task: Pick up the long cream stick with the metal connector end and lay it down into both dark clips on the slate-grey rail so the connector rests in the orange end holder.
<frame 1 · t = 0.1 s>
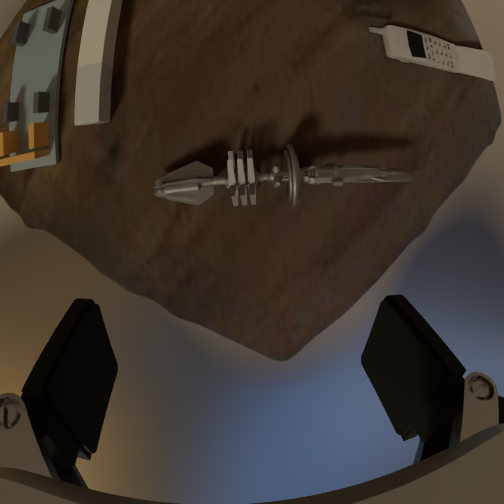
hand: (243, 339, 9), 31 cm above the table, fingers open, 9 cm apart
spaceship: (285, 170, 38), on the table
mobile phone: (429, 54, 31), on the table
long cream stick: (103, 50, 27), on the table
clip rail: (36, 80, 26), on the table
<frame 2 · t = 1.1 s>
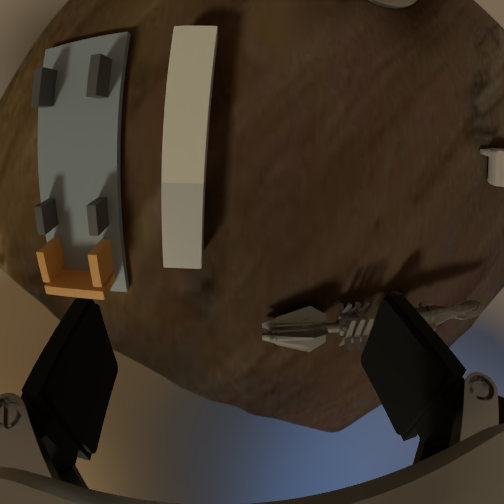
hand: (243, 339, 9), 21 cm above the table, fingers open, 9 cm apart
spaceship: (382, 303, 36), on the table
long cream stick: (189, 144, 25), on the table
clip rail: (78, 167, 24), on the table
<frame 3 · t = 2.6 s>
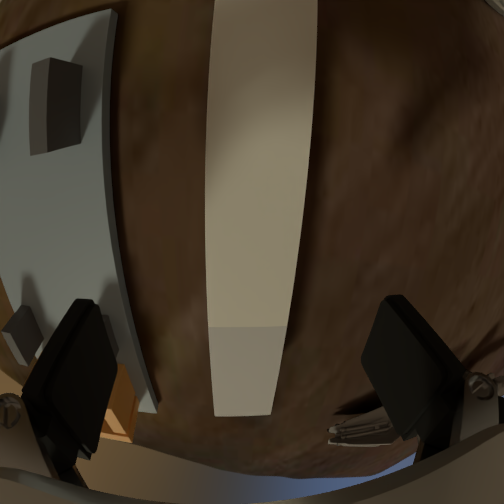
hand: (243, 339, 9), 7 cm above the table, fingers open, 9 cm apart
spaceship: (451, 378, 26), on the table
long cream stick: (245, 231, 15), on the table
clip rail: (53, 262, 15), on the table
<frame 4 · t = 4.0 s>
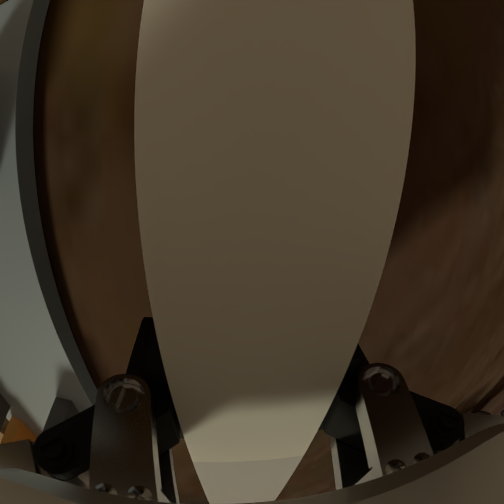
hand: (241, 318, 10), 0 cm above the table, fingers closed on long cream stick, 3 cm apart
long cream stick: (242, 317, 9), on the table, touching gripper
clip rail: (2, 332, 9), on the table
when the fingers open (2 cm above the table, at t = 9.1 s): long cream stick stays where it is, resting on clip rail.
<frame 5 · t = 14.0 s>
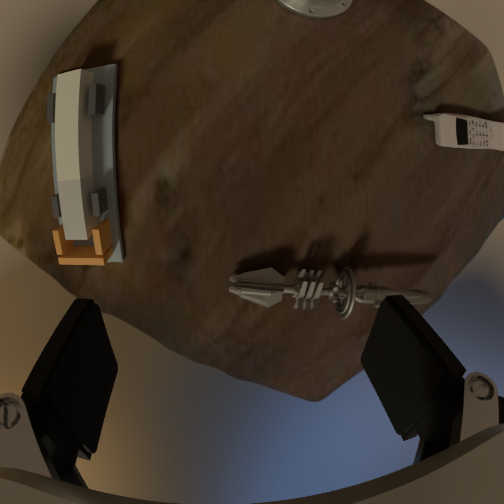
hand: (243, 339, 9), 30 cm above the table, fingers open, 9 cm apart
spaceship: (336, 279, 45), on the table
mobile phone: (468, 131, 36), on the table
long cream stick: (80, 152, 31), point 1 cm above the table, touching clip rail
clip rail: (84, 167, 33), on the table
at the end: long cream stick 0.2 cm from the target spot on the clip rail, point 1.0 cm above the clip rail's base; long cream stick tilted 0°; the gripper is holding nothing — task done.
